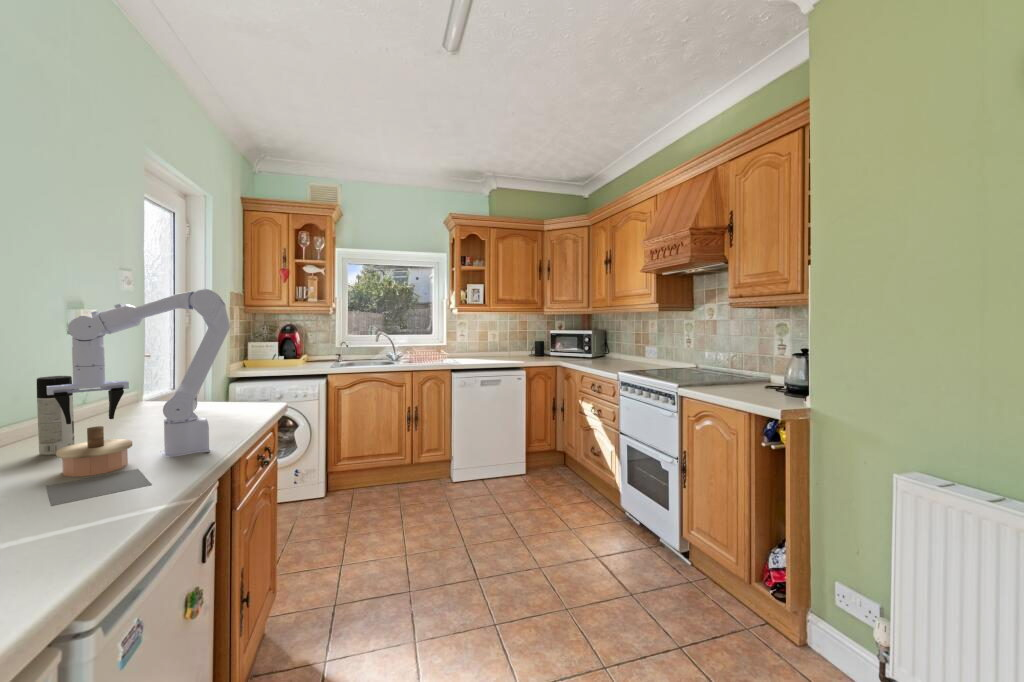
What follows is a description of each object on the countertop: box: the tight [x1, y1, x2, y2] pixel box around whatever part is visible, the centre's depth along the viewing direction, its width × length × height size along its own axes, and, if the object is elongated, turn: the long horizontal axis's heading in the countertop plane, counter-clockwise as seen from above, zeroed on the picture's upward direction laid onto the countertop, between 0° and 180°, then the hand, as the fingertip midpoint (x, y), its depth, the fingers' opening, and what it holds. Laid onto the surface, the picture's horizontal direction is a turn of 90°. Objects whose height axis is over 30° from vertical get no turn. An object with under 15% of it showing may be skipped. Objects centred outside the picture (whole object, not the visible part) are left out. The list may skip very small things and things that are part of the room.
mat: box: [45, 468, 153, 507], centre depth 95 cm, size 15×15×1 cm
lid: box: [56, 425, 133, 459], centre depth 105 cm, size 13×13×5 cm
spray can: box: [36, 375, 76, 456], centre depth 119 cm, size 7×7×20 cm
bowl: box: [61, 449, 129, 478], centre depth 106 cm, size 11×11×5 cm
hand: (90, 421), depth 111 cm, fingers open, 7 cm apart
